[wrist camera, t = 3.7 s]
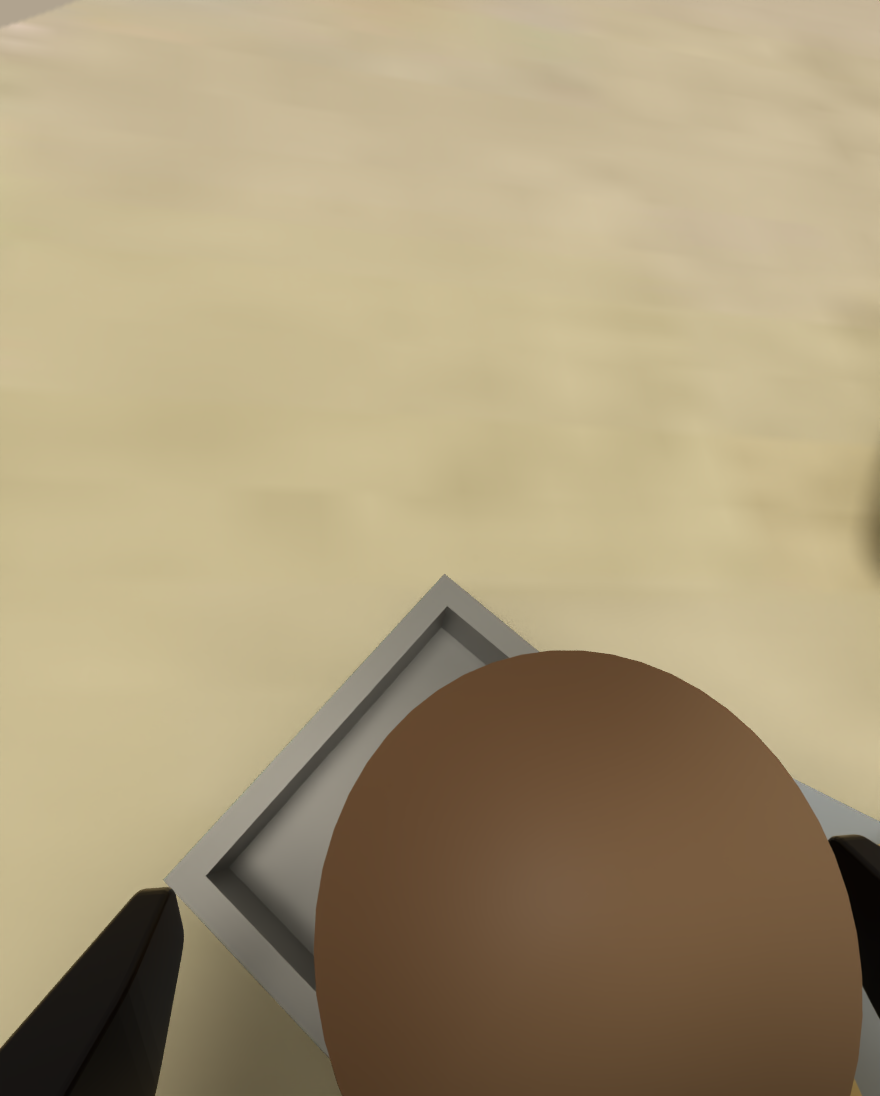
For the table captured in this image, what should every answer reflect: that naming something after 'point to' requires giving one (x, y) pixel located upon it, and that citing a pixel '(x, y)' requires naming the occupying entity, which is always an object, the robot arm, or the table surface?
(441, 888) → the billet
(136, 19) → the table surface
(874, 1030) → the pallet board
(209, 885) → the gray square tray
